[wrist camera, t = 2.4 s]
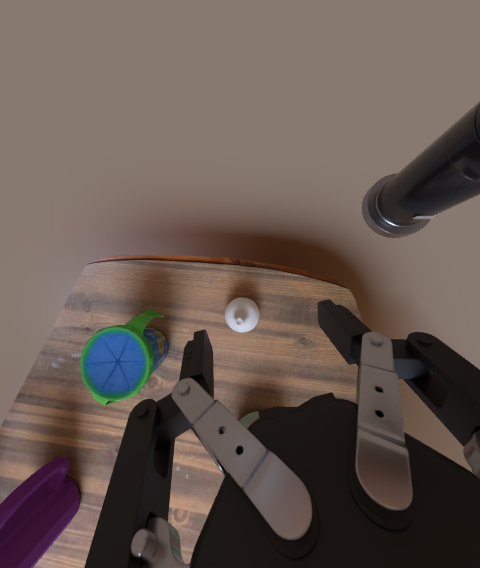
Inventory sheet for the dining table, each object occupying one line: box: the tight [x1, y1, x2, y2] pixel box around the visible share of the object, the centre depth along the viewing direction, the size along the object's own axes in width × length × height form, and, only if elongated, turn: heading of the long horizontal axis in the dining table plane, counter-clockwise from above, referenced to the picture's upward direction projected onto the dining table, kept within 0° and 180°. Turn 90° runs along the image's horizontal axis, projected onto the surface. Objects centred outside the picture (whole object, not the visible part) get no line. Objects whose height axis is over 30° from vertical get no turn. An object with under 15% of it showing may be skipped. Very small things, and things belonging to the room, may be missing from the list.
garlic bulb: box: [225, 297, 260, 332], centre depth 34 cm, size 6×6×8 cm
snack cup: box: [80, 310, 168, 405], centre depth 33 cm, size 16×10×10 cm
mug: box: [0, 457, 80, 568], centre depth 30 cm, size 9×16×15 cm, turn 162°
